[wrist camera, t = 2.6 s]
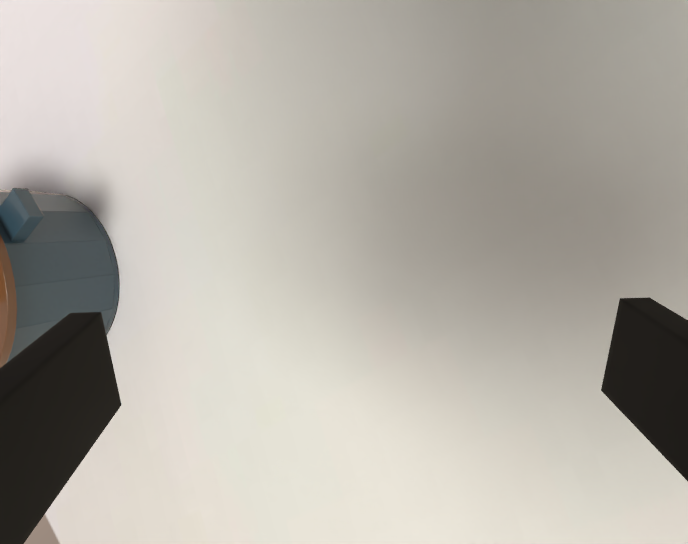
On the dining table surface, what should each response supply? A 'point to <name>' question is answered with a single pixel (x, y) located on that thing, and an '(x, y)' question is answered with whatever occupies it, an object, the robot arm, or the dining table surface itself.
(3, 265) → the lid
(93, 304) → the pot
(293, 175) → the dining table surface
